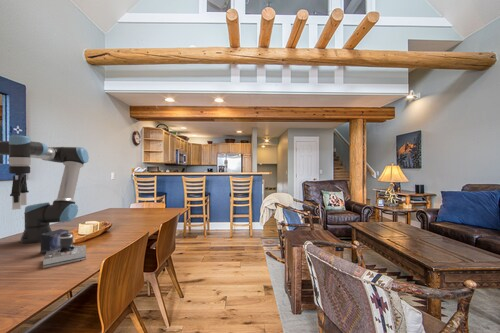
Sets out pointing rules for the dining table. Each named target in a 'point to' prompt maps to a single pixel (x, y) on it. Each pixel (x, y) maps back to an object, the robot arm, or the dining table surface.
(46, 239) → the small box
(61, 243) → the lens
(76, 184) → the robot arm
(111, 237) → the dining table surface
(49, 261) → the grey piece
